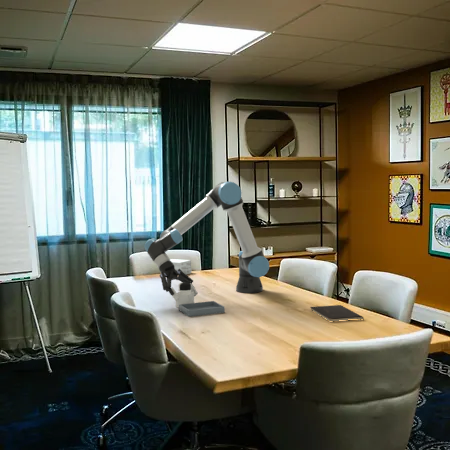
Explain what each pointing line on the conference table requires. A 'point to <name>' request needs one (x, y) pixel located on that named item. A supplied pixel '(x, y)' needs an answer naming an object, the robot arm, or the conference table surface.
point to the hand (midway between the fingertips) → (187, 297)
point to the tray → (201, 308)
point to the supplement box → (182, 265)
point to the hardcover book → (336, 313)
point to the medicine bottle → (185, 294)
